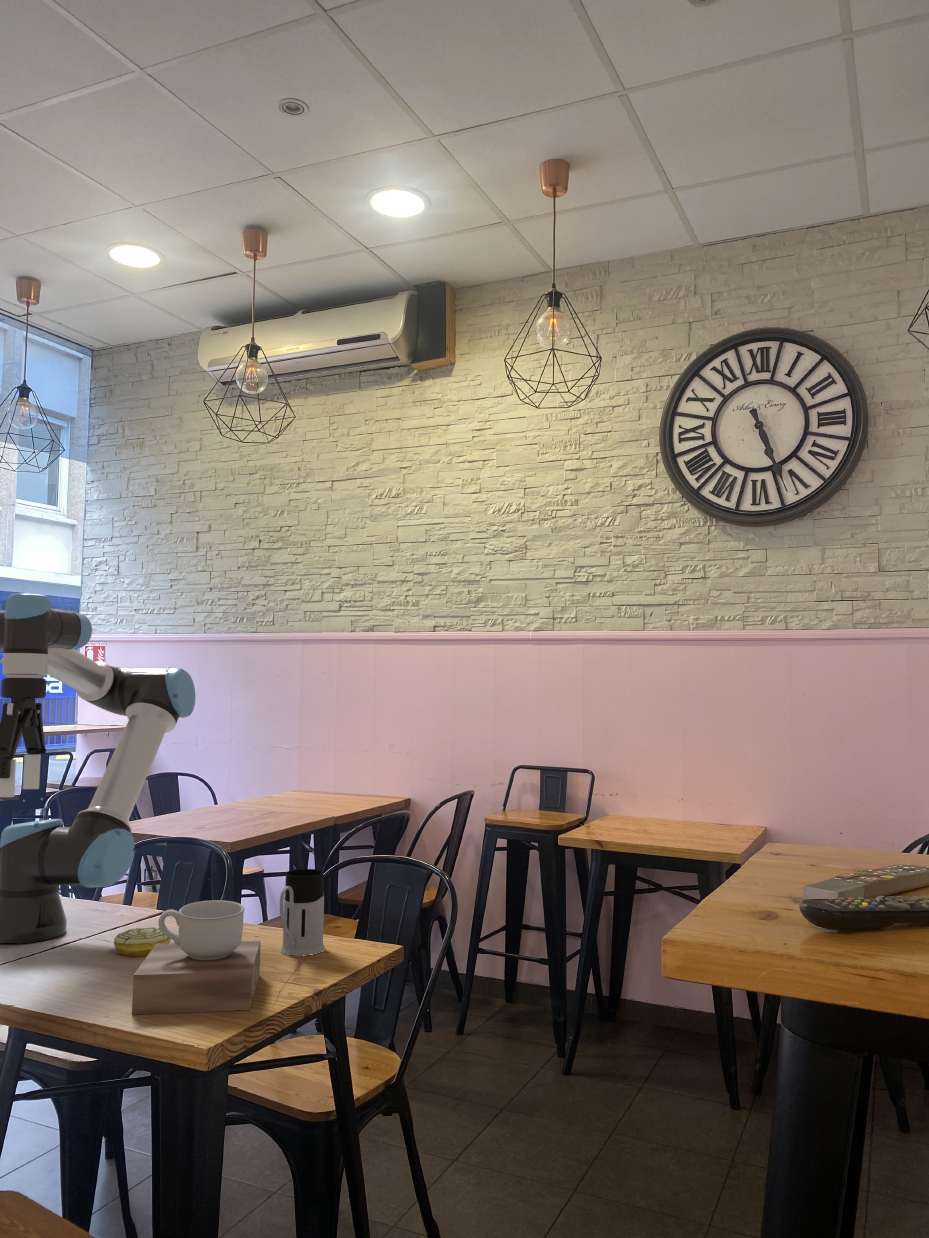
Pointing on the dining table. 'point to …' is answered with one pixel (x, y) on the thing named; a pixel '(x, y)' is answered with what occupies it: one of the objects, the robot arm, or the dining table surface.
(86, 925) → the dining table surface
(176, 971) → the block
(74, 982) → the dining table surface
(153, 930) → the decorated donut
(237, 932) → the teacup
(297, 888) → the glass holder
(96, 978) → the dining table surface
